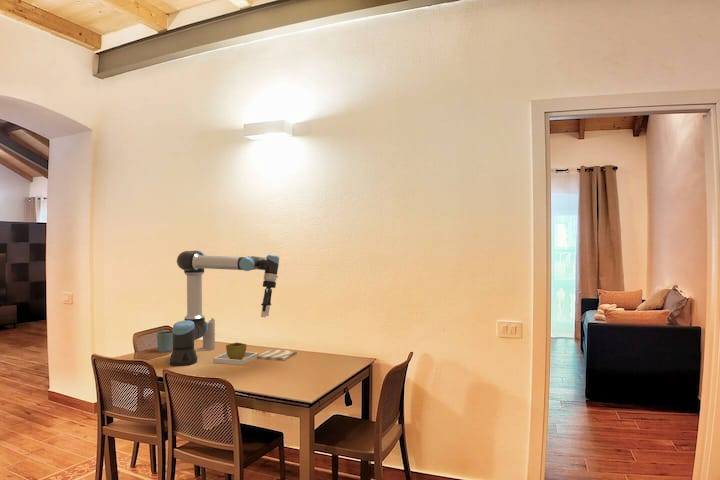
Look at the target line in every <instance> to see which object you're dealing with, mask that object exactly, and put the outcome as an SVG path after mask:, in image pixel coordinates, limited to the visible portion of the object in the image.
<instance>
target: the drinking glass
mask: <svg viewBox="0 0 720 480" xmlns="http://www.w3.org/2000/svg"><path fill="white" fill-rule="evenodd" d="M156 339H157V352H158V353H169V352H171V351H173V332H172V330H163V331H162V330H160V331H157V332H156Z"/></svg>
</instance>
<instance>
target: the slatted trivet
mask: <svg viewBox="0 0 720 480" xmlns="http://www.w3.org/2000/svg"><path fill="white" fill-rule="evenodd" d="M297 352H298V351H297V350H287V349H286V350H285V349H273V348H272V349H271V348H270V349H269V350H267V351H264V352H262V353H260V354H258V356H257V358H256V359H257V360H270V361H287V360H288V359H290V358H291V357H293V356H295V355H297Z"/></svg>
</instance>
